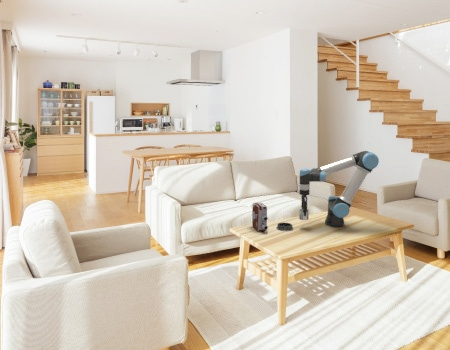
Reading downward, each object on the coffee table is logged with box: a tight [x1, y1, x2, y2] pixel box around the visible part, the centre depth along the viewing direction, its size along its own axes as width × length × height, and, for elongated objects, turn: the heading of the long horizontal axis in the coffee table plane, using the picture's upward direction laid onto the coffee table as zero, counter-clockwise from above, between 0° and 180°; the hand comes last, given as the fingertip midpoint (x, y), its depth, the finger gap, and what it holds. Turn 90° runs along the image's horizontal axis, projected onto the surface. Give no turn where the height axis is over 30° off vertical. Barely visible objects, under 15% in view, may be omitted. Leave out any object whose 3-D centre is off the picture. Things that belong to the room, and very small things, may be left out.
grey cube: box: [298, 208, 310, 221], centre depth 303 cm, size 7×7×7 cm
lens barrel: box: [276, 222, 294, 232], centre depth 305 cm, size 13×13×3 cm
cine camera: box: [251, 202, 269, 232], centre depth 300 cm, size 9×19×20 cm, turn 15°
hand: (304, 218), depth 304 cm, fingers closed on grey cube, 7 cm apart
